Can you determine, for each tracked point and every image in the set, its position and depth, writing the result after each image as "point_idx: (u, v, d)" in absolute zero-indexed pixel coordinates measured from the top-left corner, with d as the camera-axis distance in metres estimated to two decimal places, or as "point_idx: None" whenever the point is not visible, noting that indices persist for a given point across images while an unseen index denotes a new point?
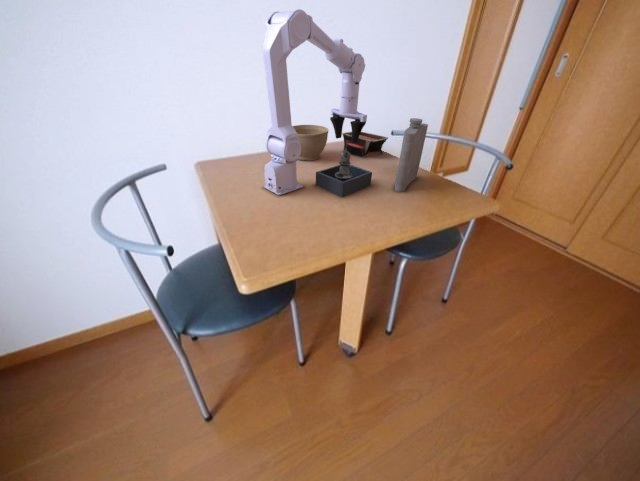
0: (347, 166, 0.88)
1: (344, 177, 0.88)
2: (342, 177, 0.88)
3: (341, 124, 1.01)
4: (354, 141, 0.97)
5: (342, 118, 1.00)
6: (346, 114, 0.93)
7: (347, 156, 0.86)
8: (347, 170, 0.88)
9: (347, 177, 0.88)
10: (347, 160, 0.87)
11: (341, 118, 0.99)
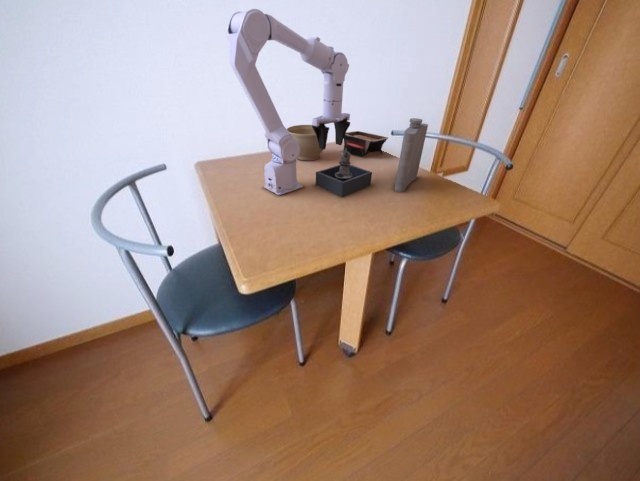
0: (347, 166, 0.88)
1: (344, 177, 0.88)
2: (342, 177, 0.88)
3: (341, 130, 0.92)
4: (320, 146, 0.90)
5: (342, 124, 0.90)
6: None
7: (347, 156, 0.86)
8: (347, 170, 0.88)
9: (347, 177, 0.88)
10: (347, 160, 0.87)
11: (341, 124, 0.91)
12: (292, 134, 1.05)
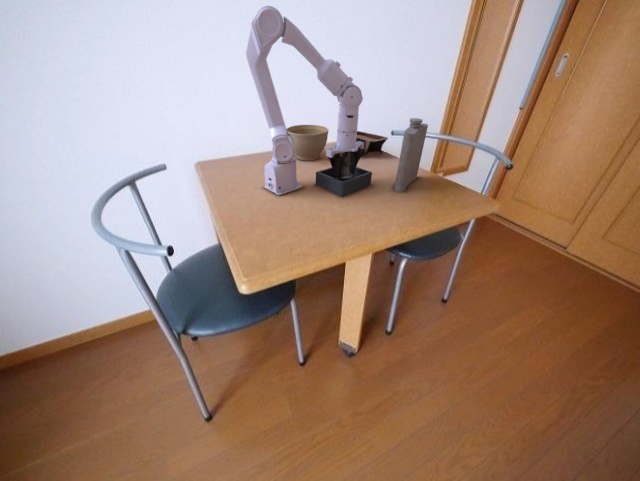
0: (347, 166, 0.88)
1: (344, 177, 0.88)
2: (342, 177, 0.88)
3: (354, 160, 0.89)
4: (335, 175, 0.89)
5: (355, 154, 0.88)
6: None
7: (347, 156, 0.86)
8: (347, 170, 0.88)
9: (347, 177, 0.88)
10: (347, 160, 0.87)
11: (354, 153, 0.88)
12: (292, 134, 1.05)
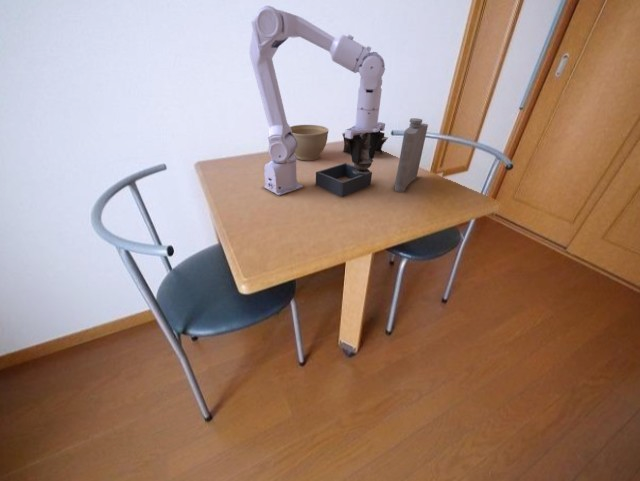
0: (367, 149, 0.78)
1: (363, 162, 0.79)
2: (361, 162, 0.79)
3: (374, 143, 0.80)
4: (353, 160, 0.79)
5: (376, 136, 0.79)
6: None
7: (367, 138, 0.77)
8: (367, 154, 0.79)
9: (367, 162, 0.79)
10: (367, 142, 0.77)
11: (374, 135, 0.79)
12: None
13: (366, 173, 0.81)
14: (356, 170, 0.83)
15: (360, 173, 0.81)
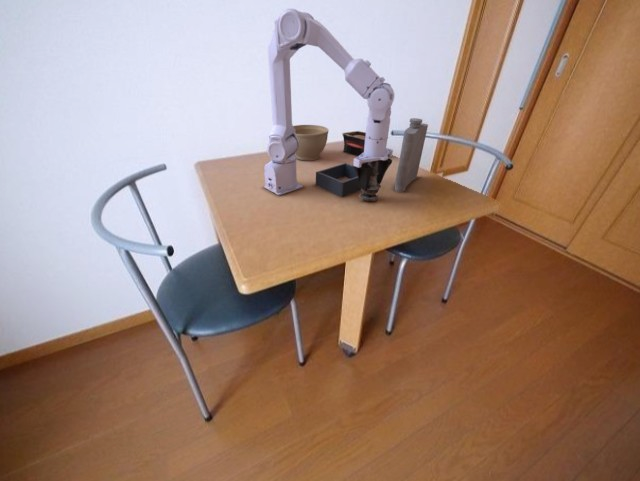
0: (375, 176, 0.79)
1: (371, 188, 0.79)
2: (369, 188, 0.80)
3: (381, 169, 0.80)
4: (360, 186, 0.80)
5: (383, 162, 0.79)
6: None
7: (375, 165, 0.77)
8: (374, 180, 0.80)
9: (374, 188, 0.80)
10: (375, 169, 0.78)
11: (382, 162, 0.79)
12: None
13: (374, 198, 0.82)
14: (364, 195, 0.83)
15: (368, 199, 0.82)
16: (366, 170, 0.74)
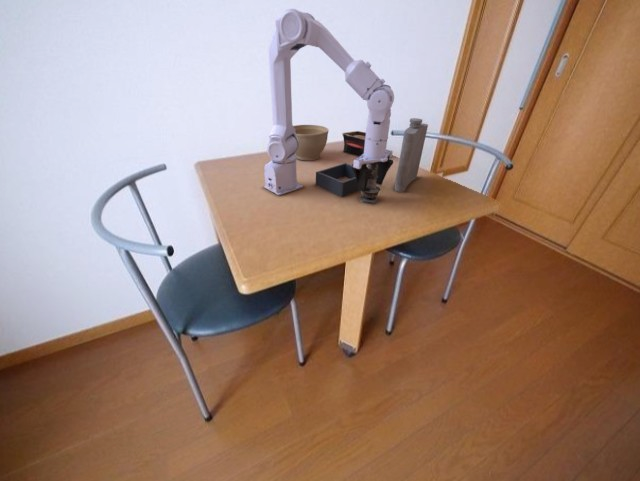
0: (374, 179, 0.79)
1: (371, 191, 0.80)
2: (369, 191, 0.80)
3: (383, 170, 0.81)
4: (359, 188, 0.80)
5: (385, 163, 0.80)
6: None
7: (375, 168, 0.78)
8: (374, 183, 0.80)
9: (374, 191, 0.80)
10: (375, 173, 0.78)
11: (383, 163, 0.80)
12: None
13: (373, 201, 0.82)
14: (363, 198, 0.84)
15: (367, 201, 0.82)
16: (364, 172, 0.74)
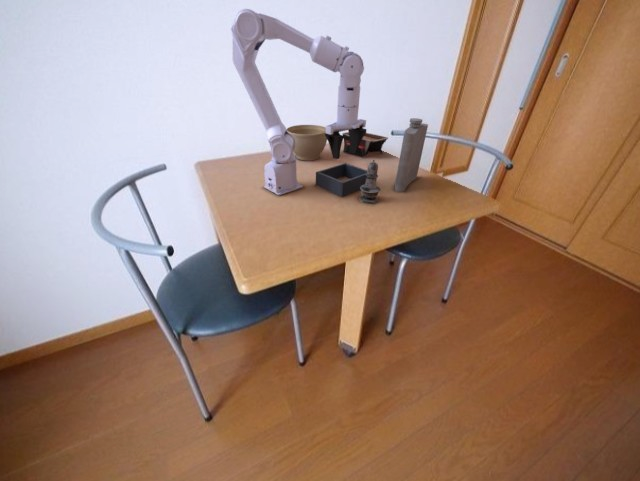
0: (374, 179, 0.79)
1: (371, 191, 0.80)
2: (369, 191, 0.80)
3: (356, 138, 0.84)
4: (333, 156, 0.82)
5: (358, 132, 0.82)
6: None
7: (375, 168, 0.78)
8: (374, 183, 0.80)
9: (374, 191, 0.80)
10: (375, 173, 0.78)
11: (357, 131, 0.83)
12: (292, 134, 1.05)
13: (373, 201, 0.82)
14: (363, 198, 0.84)
15: (367, 201, 0.82)
16: (336, 138, 0.77)
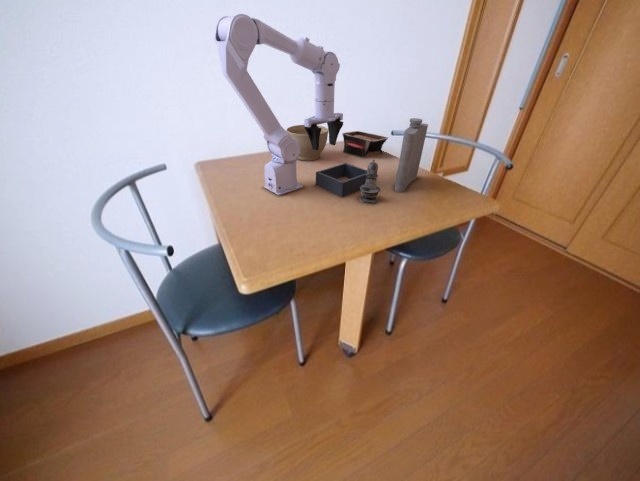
0: (374, 179, 0.79)
1: (371, 191, 0.80)
2: (369, 191, 0.80)
3: (334, 131, 0.91)
4: (313, 147, 0.89)
5: (335, 124, 0.89)
6: None
7: (375, 168, 0.78)
8: (374, 183, 0.80)
9: (374, 191, 0.80)
10: (375, 173, 0.78)
11: (334, 124, 0.90)
12: (292, 134, 1.05)
13: (373, 201, 0.82)
14: (363, 198, 0.84)
15: (367, 201, 0.82)
16: (314, 130, 0.83)
